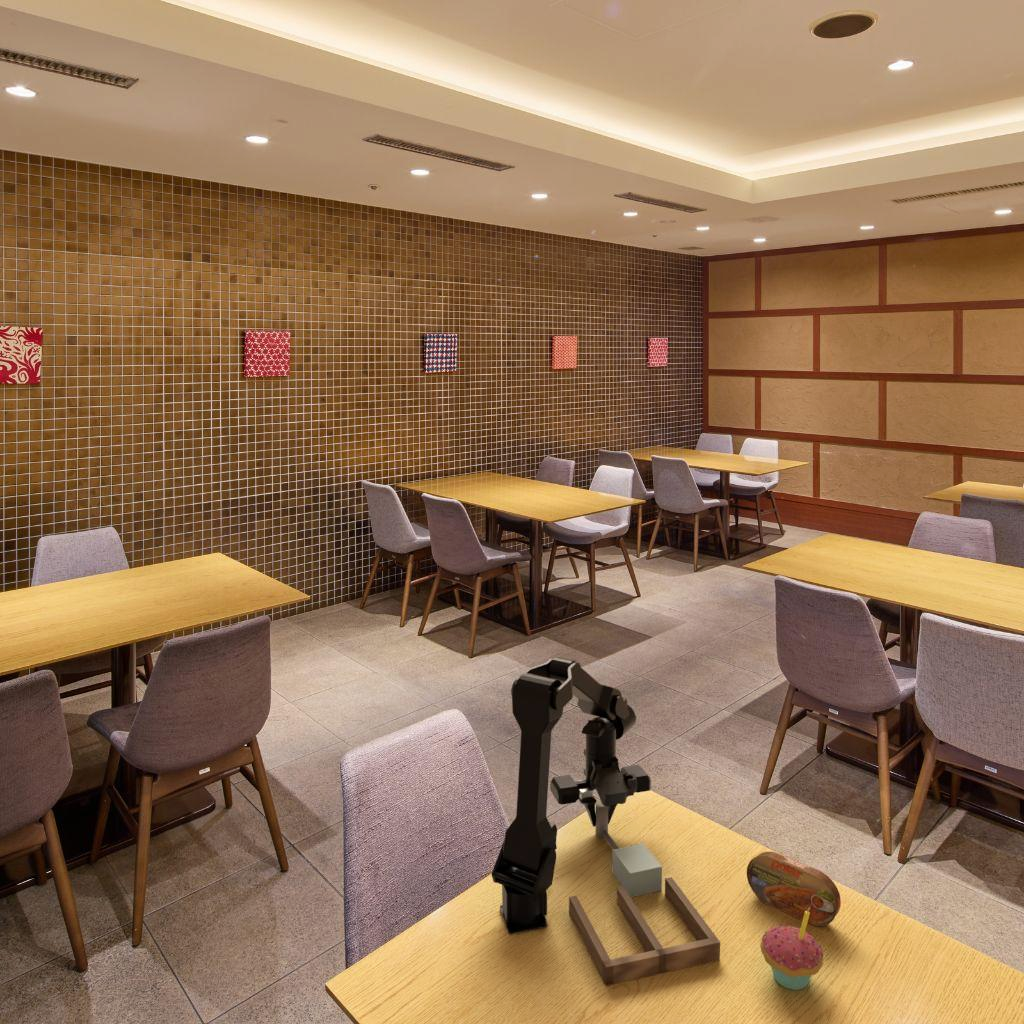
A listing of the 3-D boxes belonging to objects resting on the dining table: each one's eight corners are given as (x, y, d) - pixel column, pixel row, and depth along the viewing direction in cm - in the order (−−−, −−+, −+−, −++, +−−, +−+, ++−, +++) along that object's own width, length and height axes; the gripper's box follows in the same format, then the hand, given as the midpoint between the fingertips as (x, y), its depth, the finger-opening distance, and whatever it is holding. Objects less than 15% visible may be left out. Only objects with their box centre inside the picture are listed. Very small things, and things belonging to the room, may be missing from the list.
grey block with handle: (629, 897, 130) (630, 865, 129) (584, 833, 149) (585, 804, 148) (661, 890, 132) (662, 858, 131) (613, 827, 151) (613, 799, 150)
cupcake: (820, 964, 115) (824, 892, 113) (822, 1008, 107) (827, 930, 105) (759, 951, 118) (763, 880, 116) (758, 992, 110) (761, 917, 108)
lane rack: (605, 985, 111) (605, 967, 111) (569, 913, 127) (569, 896, 126) (719, 959, 116) (720, 942, 116) (671, 893, 131) (671, 877, 131)
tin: (744, 893, 131) (746, 848, 130) (753, 885, 133) (755, 840, 132) (833, 936, 121) (837, 888, 119) (841, 926, 123) (844, 878, 122)
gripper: (568, 776, 137) (568, 856, 139) (664, 762, 141) (662, 840, 144) (549, 748, 147) (549, 823, 150) (639, 735, 152) (638, 808, 154)
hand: (600, 824), depth 149 cm, fingers closed on grey block with handle, 2 cm apart
